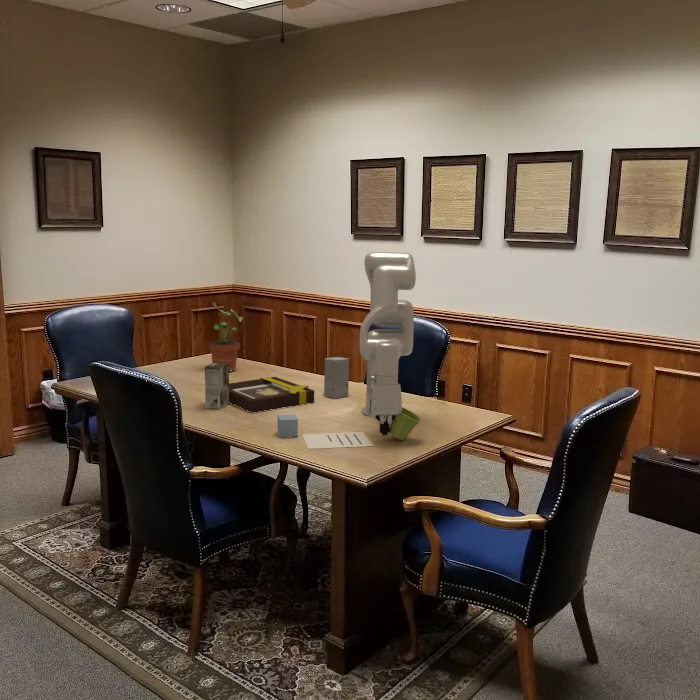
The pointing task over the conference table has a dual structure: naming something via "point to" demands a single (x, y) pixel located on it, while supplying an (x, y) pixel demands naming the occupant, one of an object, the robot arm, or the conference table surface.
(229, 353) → the potted plant
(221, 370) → the coffee box
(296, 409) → the conference table surface
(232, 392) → the brown gift box
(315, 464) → the conference table surface
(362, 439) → the letter
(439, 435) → the conference table surface
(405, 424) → the plant pot
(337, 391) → the skincare box
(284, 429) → the cube
